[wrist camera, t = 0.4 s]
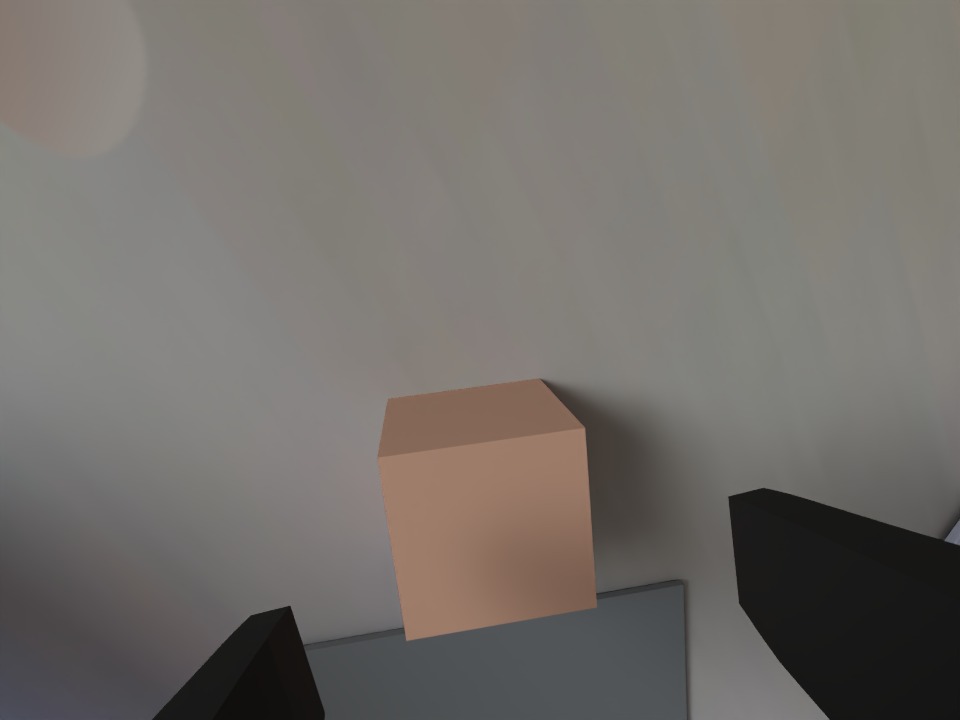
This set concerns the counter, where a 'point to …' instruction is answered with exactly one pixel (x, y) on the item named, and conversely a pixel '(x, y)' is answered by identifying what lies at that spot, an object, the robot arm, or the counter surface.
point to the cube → (486, 507)
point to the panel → (519, 666)
